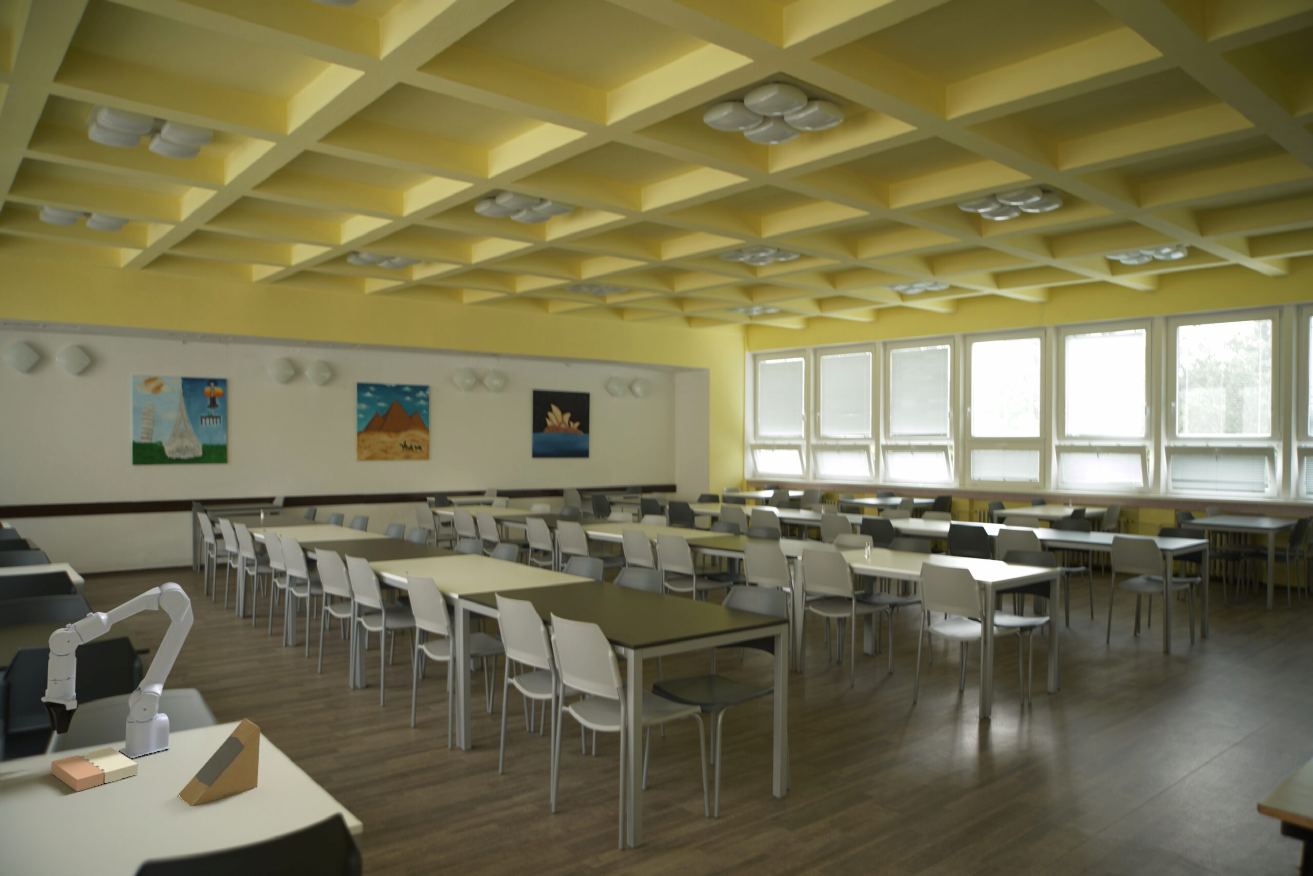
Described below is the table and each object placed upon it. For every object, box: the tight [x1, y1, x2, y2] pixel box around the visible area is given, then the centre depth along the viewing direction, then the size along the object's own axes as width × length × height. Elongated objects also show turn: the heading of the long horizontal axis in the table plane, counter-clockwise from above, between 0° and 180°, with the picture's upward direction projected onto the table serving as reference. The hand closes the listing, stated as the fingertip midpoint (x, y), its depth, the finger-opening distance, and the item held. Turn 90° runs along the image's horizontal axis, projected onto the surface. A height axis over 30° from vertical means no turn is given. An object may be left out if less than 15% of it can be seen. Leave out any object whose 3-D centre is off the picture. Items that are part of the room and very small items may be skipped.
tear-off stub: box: [50, 754, 104, 792], centre depth 204 cm, size 6×16×3 cm, turn 54°
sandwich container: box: [178, 717, 261, 807], centre depth 200 cm, size 9×15×15 cm, turn 139°
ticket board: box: [78, 747, 139, 784], centre depth 209 cm, size 7×16×3 cm, turn 54°
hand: (59, 731), depth 211 cm, fingers open, 3 cm apart
